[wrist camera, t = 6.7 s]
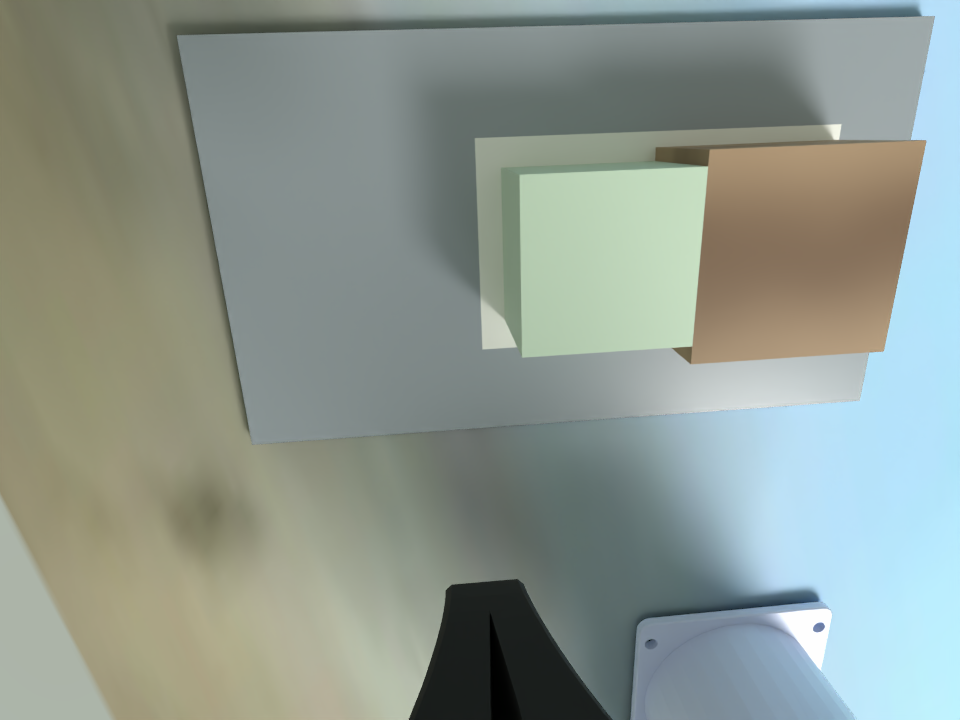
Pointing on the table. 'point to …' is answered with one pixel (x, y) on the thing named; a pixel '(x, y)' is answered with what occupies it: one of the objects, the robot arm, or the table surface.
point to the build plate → (489, 203)
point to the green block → (601, 255)
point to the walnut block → (799, 245)
